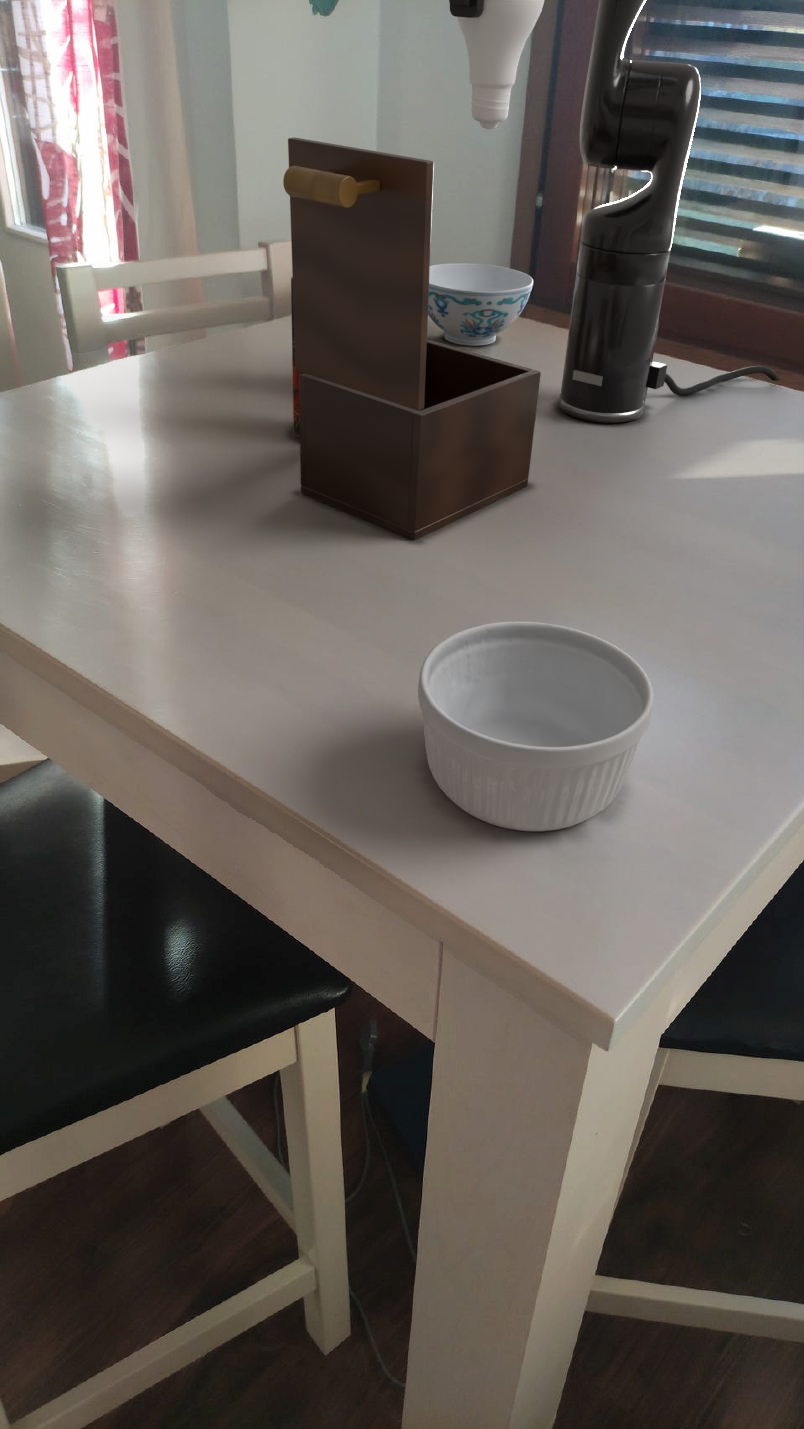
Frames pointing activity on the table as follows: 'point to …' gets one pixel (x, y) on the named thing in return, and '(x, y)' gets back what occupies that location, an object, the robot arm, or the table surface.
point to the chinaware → (476, 300)
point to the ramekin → (531, 722)
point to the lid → (361, 267)
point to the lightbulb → (496, 54)
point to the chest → (420, 442)
